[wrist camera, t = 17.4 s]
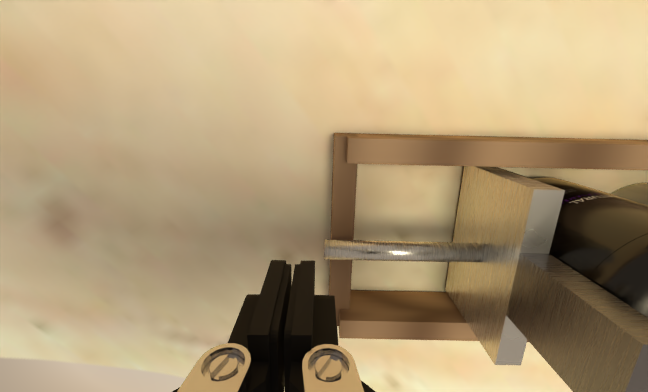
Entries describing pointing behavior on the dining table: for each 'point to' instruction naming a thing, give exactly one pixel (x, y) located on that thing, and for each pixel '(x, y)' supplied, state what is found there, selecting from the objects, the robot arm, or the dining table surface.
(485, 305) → the pusher
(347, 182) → the brown wooden open box
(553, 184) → the supplement bottle
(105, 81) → the dining table surface
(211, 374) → the robot arm
